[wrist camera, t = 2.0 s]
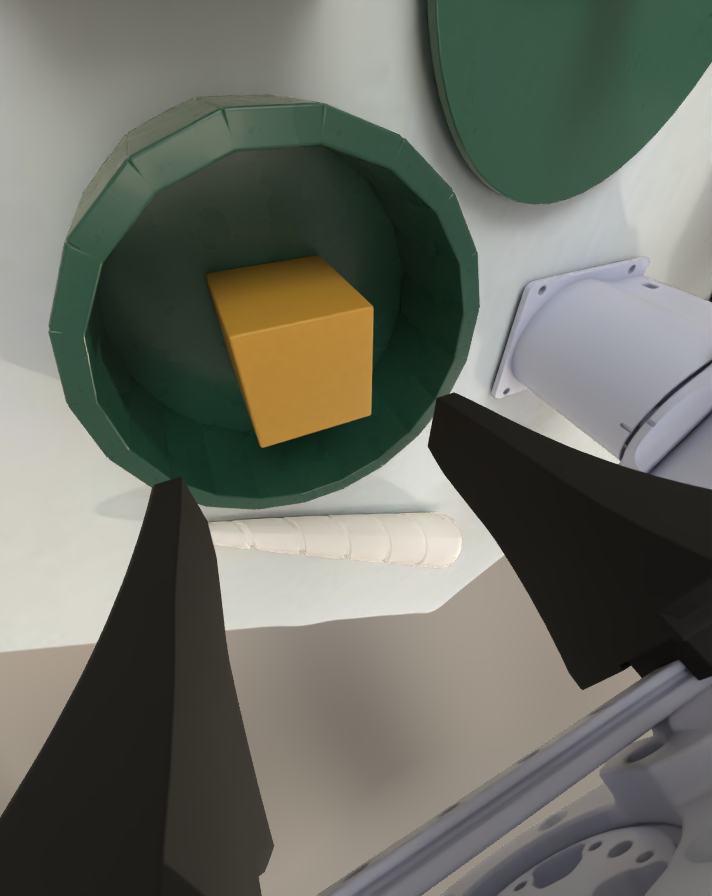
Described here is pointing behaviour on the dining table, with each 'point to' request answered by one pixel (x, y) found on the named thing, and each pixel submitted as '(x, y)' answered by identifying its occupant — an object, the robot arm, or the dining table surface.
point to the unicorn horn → (350, 537)
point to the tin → (247, 244)
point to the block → (296, 345)
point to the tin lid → (562, 85)
